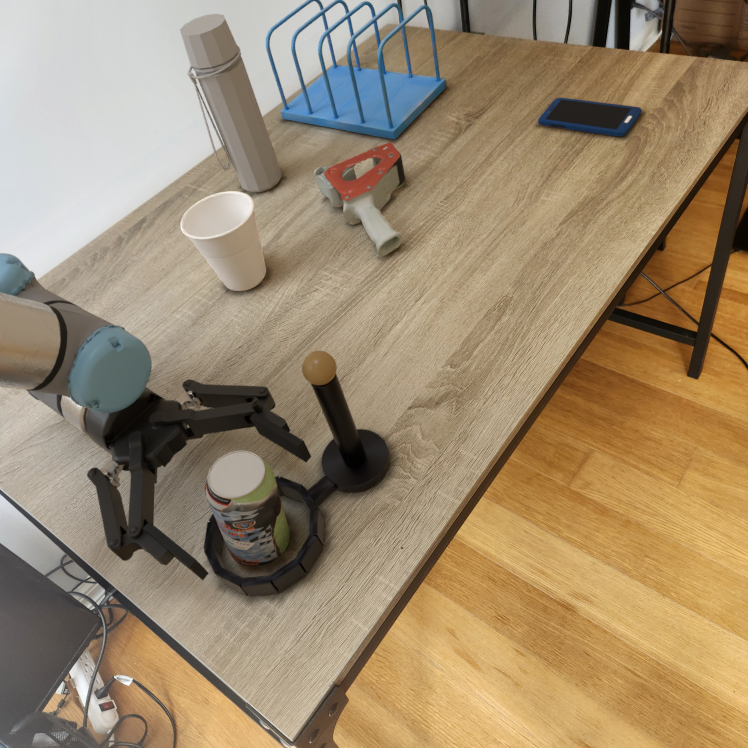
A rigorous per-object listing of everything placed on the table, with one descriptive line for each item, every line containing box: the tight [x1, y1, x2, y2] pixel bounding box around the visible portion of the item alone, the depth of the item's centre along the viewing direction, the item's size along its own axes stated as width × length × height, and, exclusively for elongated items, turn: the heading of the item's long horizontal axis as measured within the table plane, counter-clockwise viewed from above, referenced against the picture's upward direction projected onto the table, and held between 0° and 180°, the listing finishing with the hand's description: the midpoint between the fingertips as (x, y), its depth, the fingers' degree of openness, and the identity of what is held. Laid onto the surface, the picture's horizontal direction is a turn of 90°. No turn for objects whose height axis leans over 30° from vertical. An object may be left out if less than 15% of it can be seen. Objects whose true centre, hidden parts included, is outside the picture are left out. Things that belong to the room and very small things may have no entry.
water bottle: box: [179, 13, 283, 194], centre depth 97 cm, size 9×8×25 cm
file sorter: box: [265, 0, 447, 140], centre depth 111 cm, size 25×17×15 cm
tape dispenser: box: [313, 142, 406, 257], centre depth 94 cm, size 18×5×20 cm
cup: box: [180, 190, 267, 292], centre depth 87 cm, size 10×10×11 cm
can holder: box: [203, 350, 391, 598], centre depth 59 cm, size 13×20×17 cm, turn 152°
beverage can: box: [204, 450, 291, 568], centre depth 59 cm, size 6×7×12 cm
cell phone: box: [537, 97, 642, 138], centre depth 100 cm, size 7×14×1 cm, turn 56°
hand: (255, 508), depth 57 cm, fingers open, 13 cm apart
